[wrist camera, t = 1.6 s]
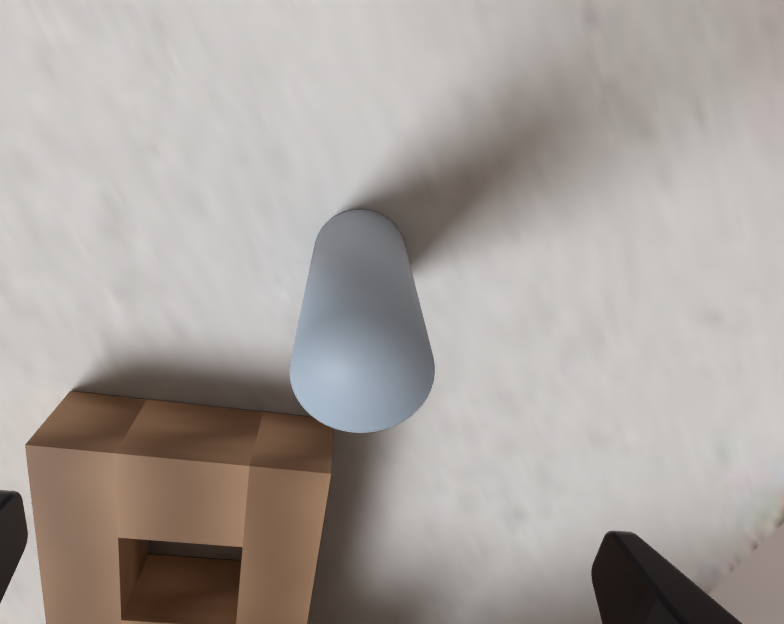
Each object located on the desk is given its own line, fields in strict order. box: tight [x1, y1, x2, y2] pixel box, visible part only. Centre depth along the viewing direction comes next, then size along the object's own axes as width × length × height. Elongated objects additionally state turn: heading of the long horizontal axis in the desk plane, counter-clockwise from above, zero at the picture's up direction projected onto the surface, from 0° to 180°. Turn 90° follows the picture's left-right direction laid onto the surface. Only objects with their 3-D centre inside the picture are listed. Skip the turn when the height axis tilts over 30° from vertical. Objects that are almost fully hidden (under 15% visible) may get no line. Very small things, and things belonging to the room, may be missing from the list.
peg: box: [289, 209, 435, 433], centre depth 16 cm, size 3×3×8 cm
